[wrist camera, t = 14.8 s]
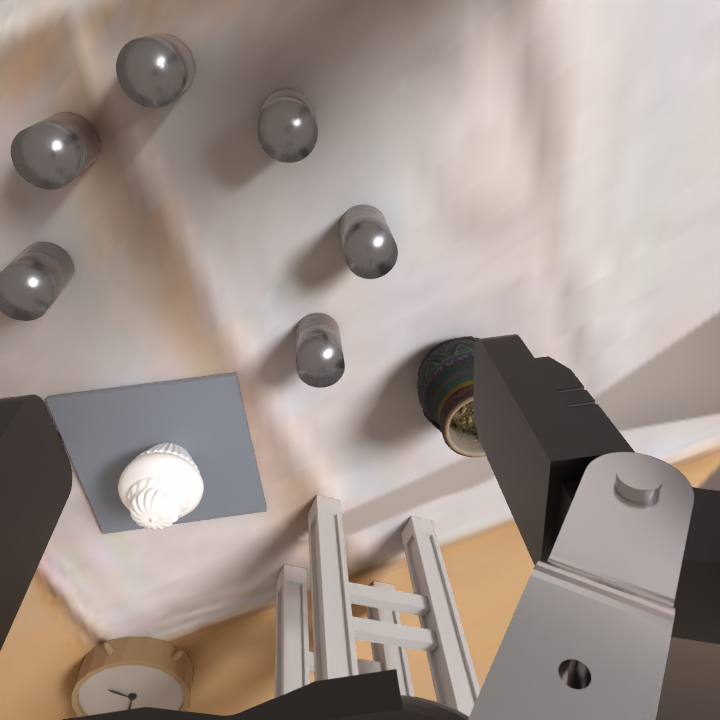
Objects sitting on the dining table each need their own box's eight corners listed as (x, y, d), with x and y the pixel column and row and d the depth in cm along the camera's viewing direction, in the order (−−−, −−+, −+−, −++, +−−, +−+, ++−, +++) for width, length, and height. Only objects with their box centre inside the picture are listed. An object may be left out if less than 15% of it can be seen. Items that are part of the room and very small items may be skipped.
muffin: (136, 489, 50) (116, 556, 44) (121, 429, 47) (97, 493, 41) (213, 483, 50) (203, 549, 44) (203, 424, 47) (191, 485, 41)
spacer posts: (372, 12, 35) (384, 13, 30) (393, 341, 46) (404, 376, 41) (-61, 55, 33) (-112, 63, 29) (69, 382, 45) (46, 423, 40)
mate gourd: (428, 315, 45) (461, 388, 36) (519, 336, 47) (571, 411, 38) (397, 393, 48) (421, 478, 40) (483, 411, 50) (523, 495, 41)
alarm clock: (201, 665, 59) (169, 774, 63) (205, 626, 63) (175, 731, 68) (79, 652, 56) (55, 768, 60) (92, 613, 60) (69, 723, 65)
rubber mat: (236, 372, 46) (235, 375, 45) (266, 507, 53) (266, 511, 52) (47, 396, 45) (45, 400, 45) (104, 529, 52) (103, 533, 52)
